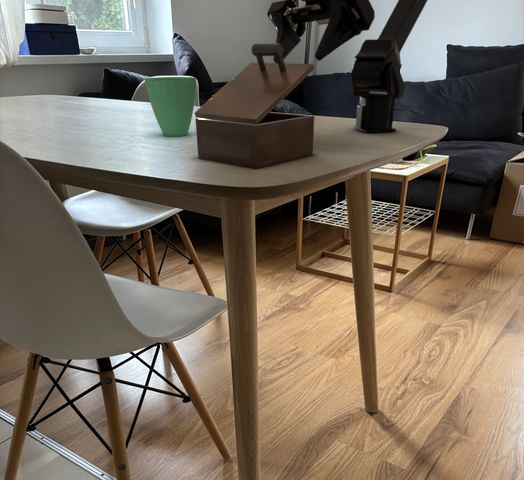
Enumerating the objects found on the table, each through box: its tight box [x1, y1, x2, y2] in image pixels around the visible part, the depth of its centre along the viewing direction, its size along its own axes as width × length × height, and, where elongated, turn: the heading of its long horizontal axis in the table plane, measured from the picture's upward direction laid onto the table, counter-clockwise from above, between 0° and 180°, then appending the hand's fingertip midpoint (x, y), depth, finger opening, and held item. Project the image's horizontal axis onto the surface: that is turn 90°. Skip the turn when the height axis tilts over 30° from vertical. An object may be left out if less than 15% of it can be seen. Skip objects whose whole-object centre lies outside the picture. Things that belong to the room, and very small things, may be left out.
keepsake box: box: [195, 111, 315, 170], centre depth 80 cm, size 14×13×6 cm
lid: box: [193, 42, 315, 124], centre depth 75 cm, size 14×13×5 cm
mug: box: [144, 76, 197, 137], centre depth 102 cm, size 15×10×10 cm
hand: (295, 60), depth 82 cm, fingers open, 9 cm apart
